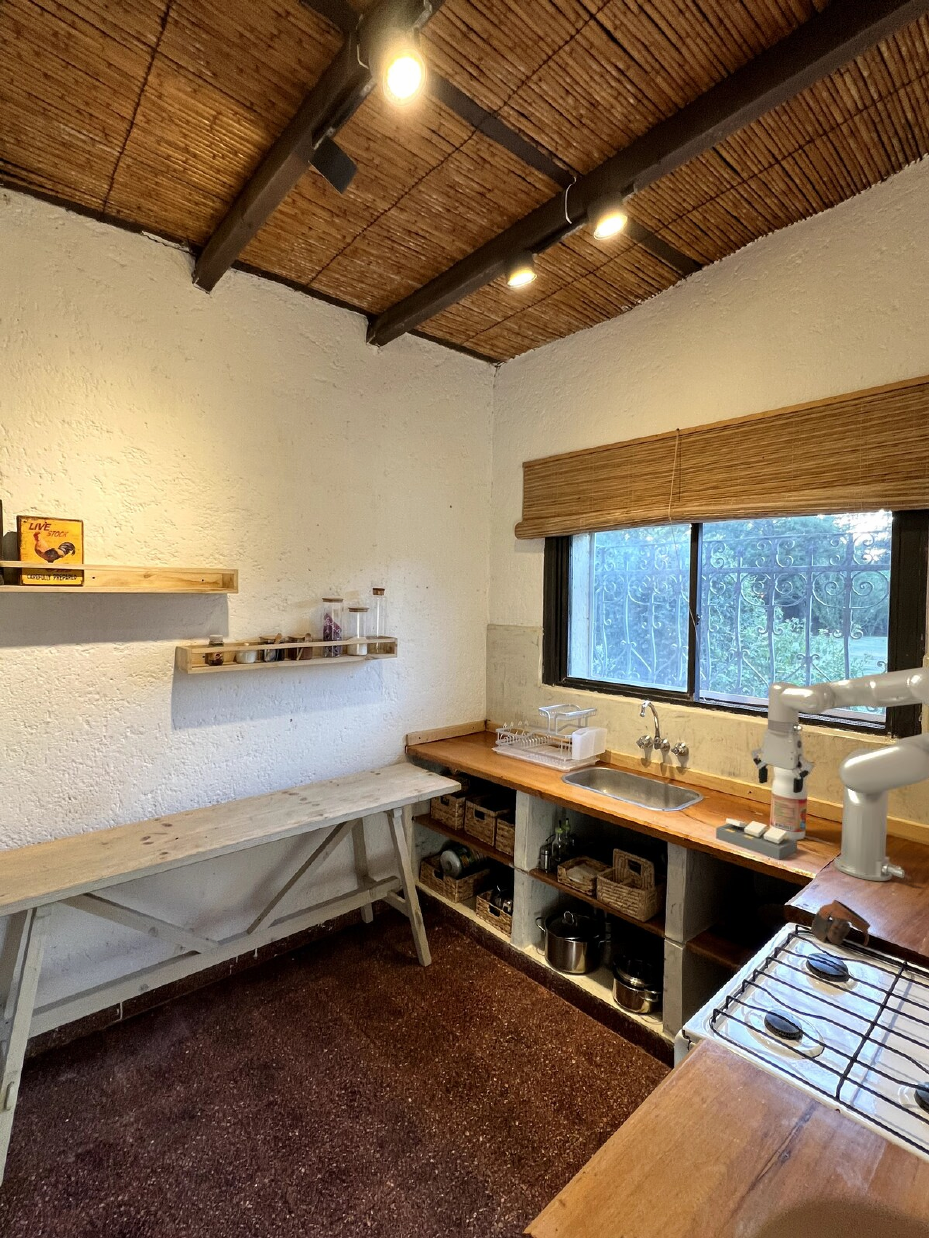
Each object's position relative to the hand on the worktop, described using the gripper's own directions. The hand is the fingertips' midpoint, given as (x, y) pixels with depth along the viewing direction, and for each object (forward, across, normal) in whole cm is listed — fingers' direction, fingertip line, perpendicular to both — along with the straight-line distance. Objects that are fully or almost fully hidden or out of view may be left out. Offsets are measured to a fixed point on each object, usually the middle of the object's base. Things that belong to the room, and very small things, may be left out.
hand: (779, 787), depth 167 cm
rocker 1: (+13, +10, +4) cm, 17 cm away
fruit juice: (+17, +4, -13) cm, 22 cm away
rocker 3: (+13, -1, +3) cm, 13 cm away
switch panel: (+17, +5, +3) cm, 18 cm away
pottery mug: (+18, -32, +36) cm, 52 cm away
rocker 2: (+13, +5, +3) cm, 14 cm away
